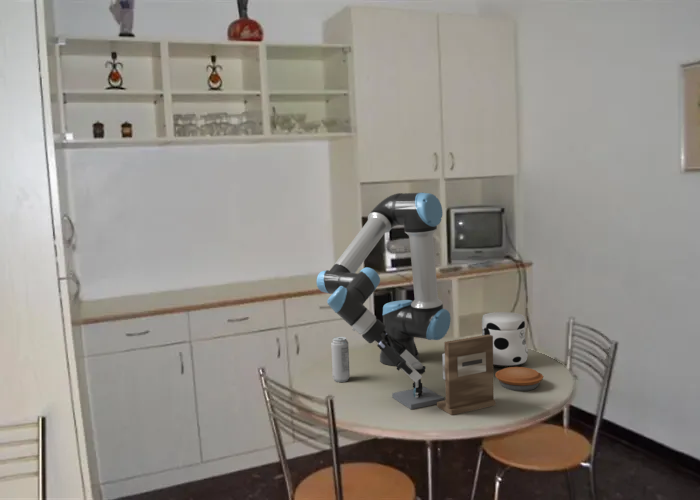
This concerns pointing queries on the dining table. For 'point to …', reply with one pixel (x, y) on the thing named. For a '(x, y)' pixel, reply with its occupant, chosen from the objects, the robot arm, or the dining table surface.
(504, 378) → the pie
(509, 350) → the milk container
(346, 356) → the energy drink can
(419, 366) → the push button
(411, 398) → the mat
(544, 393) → the dining table surface
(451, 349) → the mounted unit
